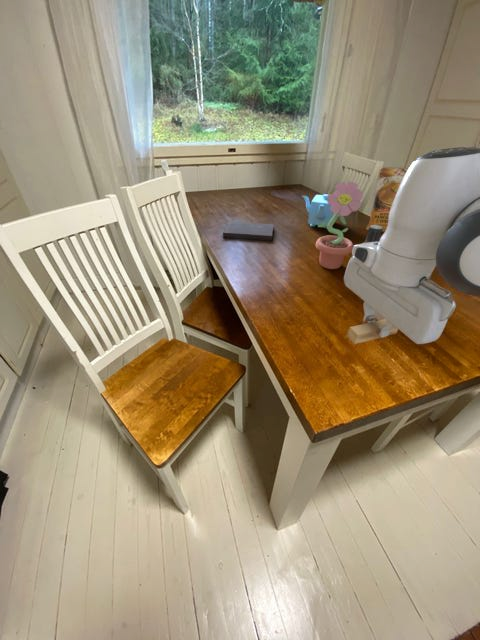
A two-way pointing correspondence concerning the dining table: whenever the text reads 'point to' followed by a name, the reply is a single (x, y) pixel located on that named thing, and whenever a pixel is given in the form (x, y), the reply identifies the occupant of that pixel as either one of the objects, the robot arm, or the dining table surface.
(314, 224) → the teakettle
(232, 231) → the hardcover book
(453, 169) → the robot arm
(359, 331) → the beige rectangular block
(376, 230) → the sauce bottle
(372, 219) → the pancake mix bag
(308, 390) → the dining table surface
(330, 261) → the decorative flower
